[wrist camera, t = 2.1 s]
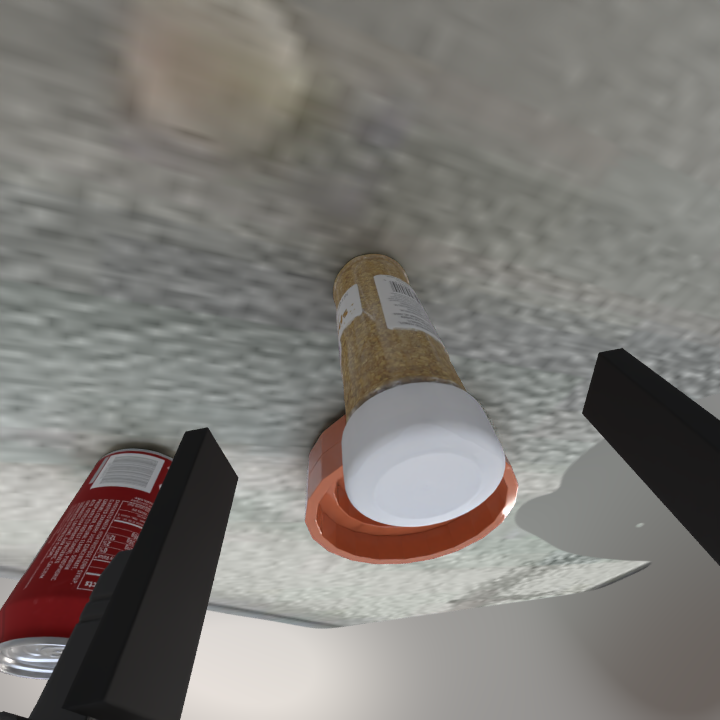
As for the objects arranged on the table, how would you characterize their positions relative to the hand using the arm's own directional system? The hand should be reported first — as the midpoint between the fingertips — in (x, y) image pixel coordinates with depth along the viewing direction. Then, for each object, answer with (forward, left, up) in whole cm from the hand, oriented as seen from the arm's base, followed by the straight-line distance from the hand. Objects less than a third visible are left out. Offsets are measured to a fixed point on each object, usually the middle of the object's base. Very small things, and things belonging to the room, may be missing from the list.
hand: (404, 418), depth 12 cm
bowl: (+9, +13, -11) cm, 19 cm away
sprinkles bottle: (0, 0, -11) cm, 11 cm away
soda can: (+23, -2, -11) cm, 25 cm away
